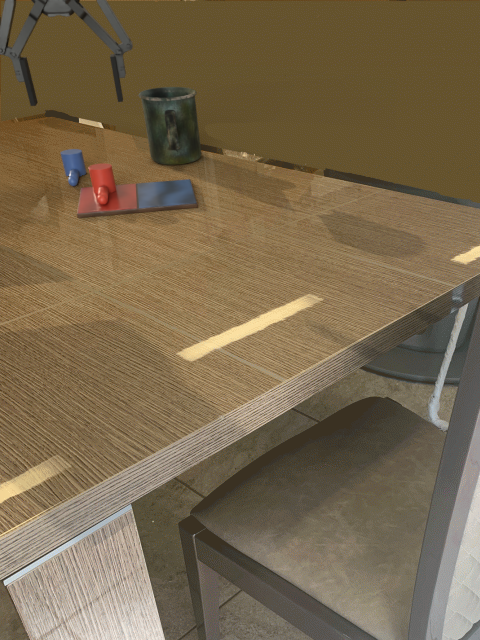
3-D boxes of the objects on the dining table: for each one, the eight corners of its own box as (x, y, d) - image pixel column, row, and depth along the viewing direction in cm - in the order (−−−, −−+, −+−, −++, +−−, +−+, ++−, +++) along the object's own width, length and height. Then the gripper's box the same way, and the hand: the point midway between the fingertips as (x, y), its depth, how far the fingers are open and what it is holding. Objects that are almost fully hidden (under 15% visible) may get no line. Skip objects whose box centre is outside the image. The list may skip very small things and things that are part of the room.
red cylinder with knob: (115, 205, 104) (110, 179, 102) (91, 207, 104) (85, 181, 101) (116, 186, 112) (111, 162, 110) (94, 188, 111) (89, 164, 109)
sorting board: (77, 218, 102) (76, 213, 101) (81, 191, 112) (80, 187, 112) (197, 207, 105) (197, 203, 105) (190, 182, 116) (190, 178, 116)
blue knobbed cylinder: (84, 186, 115) (79, 163, 112) (62, 188, 114) (56, 164, 111) (87, 170, 122) (82, 148, 120) (66, 172, 122) (61, 149, 119)
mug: (202, 149, 134) (195, 85, 126) (206, 169, 122) (198, 100, 115) (149, 152, 132) (138, 88, 125) (148, 173, 121) (136, 103, 113)
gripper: (-57, -60, 87) (-8, 110, 100) (132, -61, 91) (155, 103, 104) (-44, -60, 93) (1, 101, 106) (132, -61, 97) (155, 94, 110)
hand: (77, 102), depth 105 cm, fingers open, 13 cm apart
